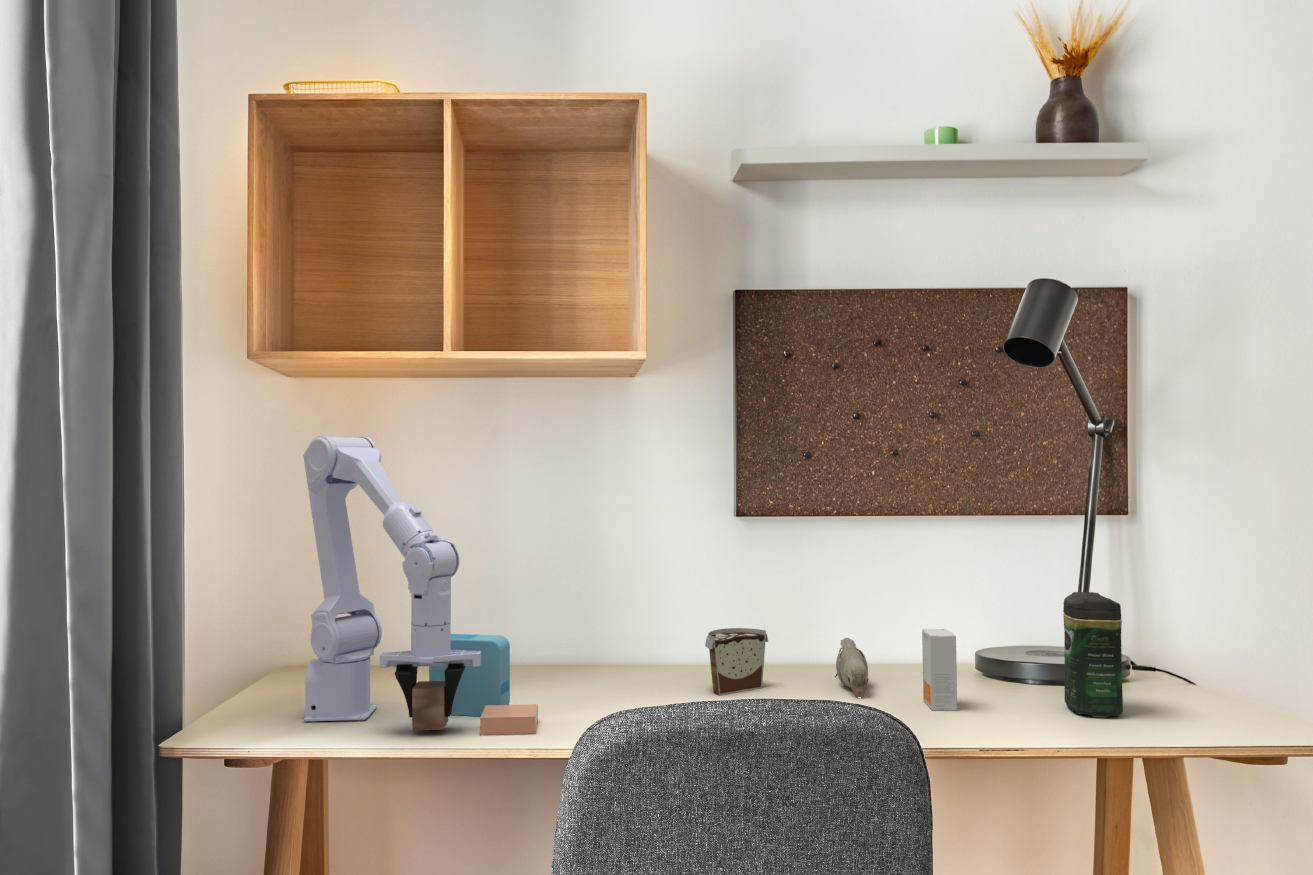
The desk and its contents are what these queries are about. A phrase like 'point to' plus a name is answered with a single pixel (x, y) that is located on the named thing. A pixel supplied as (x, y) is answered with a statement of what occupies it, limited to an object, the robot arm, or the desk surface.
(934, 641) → the skincare box
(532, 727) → the terracotta plinth
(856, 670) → the decorative bird
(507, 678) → the teal rounded block
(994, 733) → the desk surface
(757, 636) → the food container
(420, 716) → the walnut block
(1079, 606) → the coffee jar
